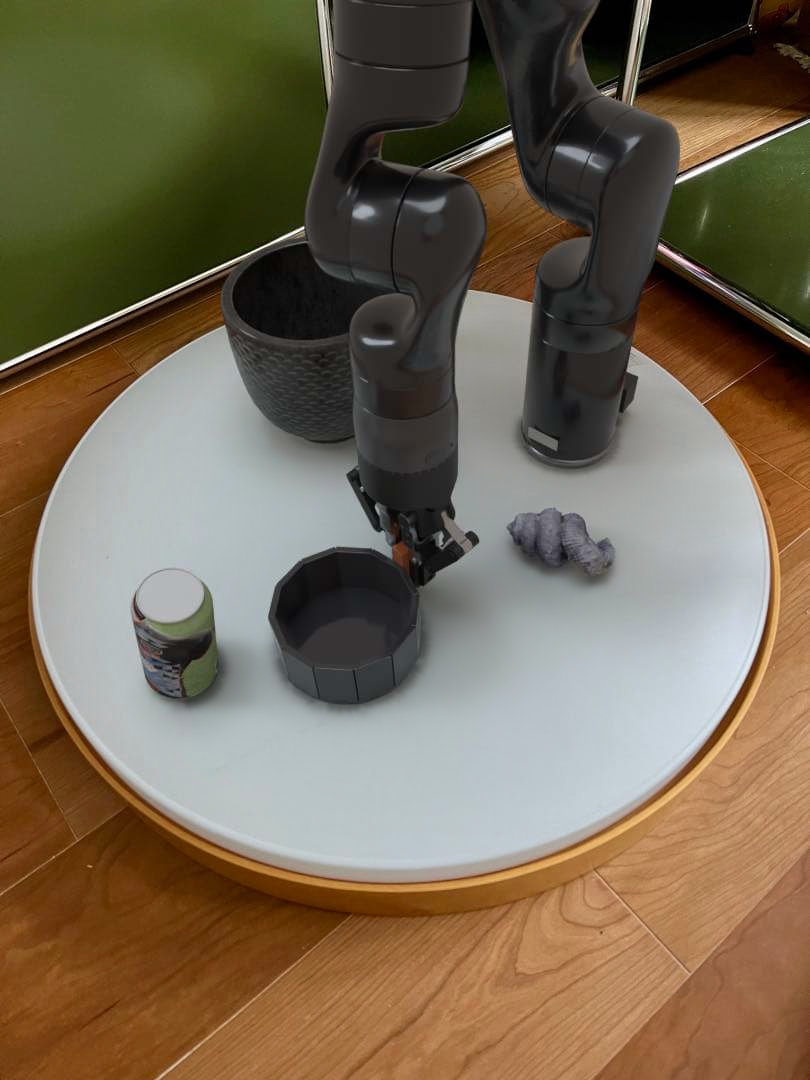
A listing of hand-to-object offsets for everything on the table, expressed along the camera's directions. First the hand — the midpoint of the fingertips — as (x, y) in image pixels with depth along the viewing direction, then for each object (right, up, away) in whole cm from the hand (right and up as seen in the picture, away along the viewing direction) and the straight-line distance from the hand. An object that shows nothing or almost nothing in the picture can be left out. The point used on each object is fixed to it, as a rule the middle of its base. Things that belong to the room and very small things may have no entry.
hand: (414, 574), depth 78 cm
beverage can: (-19, -8, -3) cm, 21 cm away
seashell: (+13, +1, +3) cm, 14 cm away
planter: (-9, +16, +16) cm, 24 cm away
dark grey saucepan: (-4, -5, -1) cm, 6 cm away
